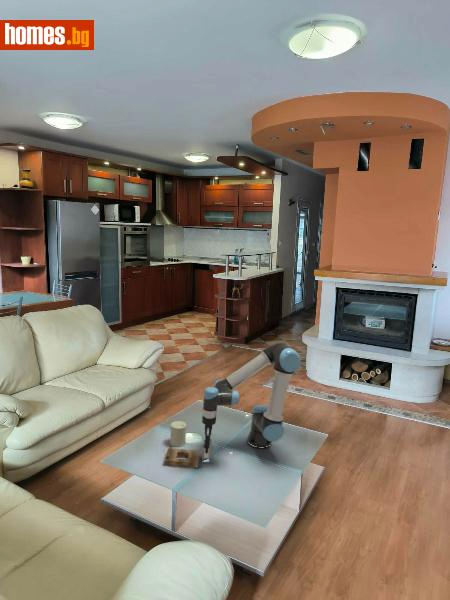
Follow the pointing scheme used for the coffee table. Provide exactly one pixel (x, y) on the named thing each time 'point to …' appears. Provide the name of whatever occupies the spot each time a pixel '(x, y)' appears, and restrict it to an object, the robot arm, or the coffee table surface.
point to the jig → (174, 453)
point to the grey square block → (209, 451)
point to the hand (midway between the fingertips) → (206, 455)
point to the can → (178, 433)
